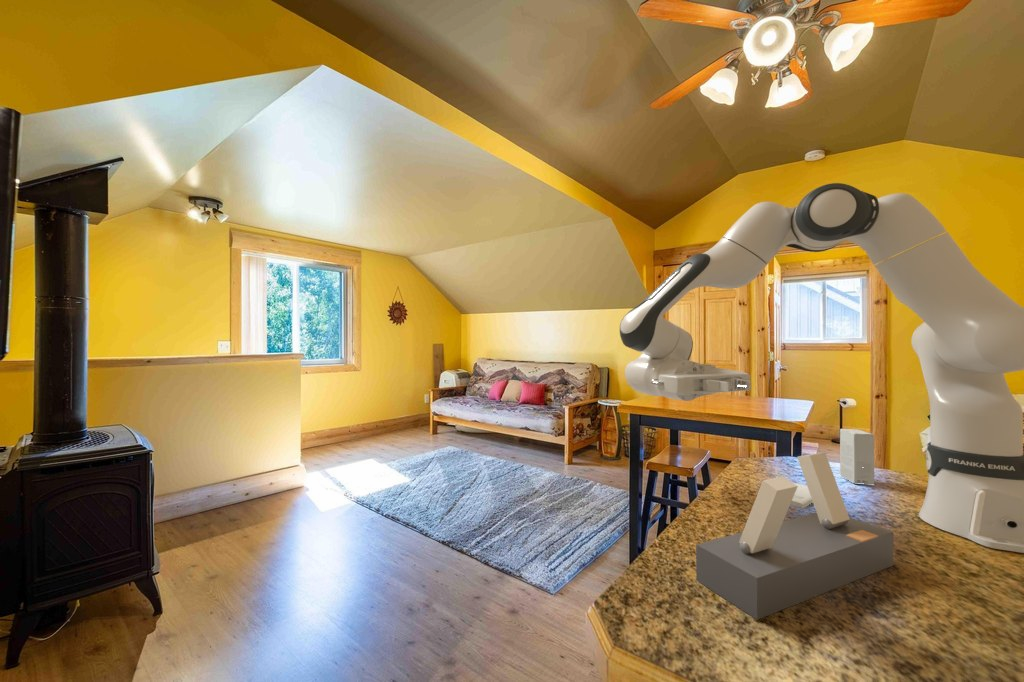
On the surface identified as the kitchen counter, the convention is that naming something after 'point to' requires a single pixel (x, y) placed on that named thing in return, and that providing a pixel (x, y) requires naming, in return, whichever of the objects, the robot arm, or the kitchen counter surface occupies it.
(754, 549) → the lever
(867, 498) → the kitchen counter surface
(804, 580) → the switch box
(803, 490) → the external hard drive
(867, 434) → the skincare box
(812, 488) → the lever
